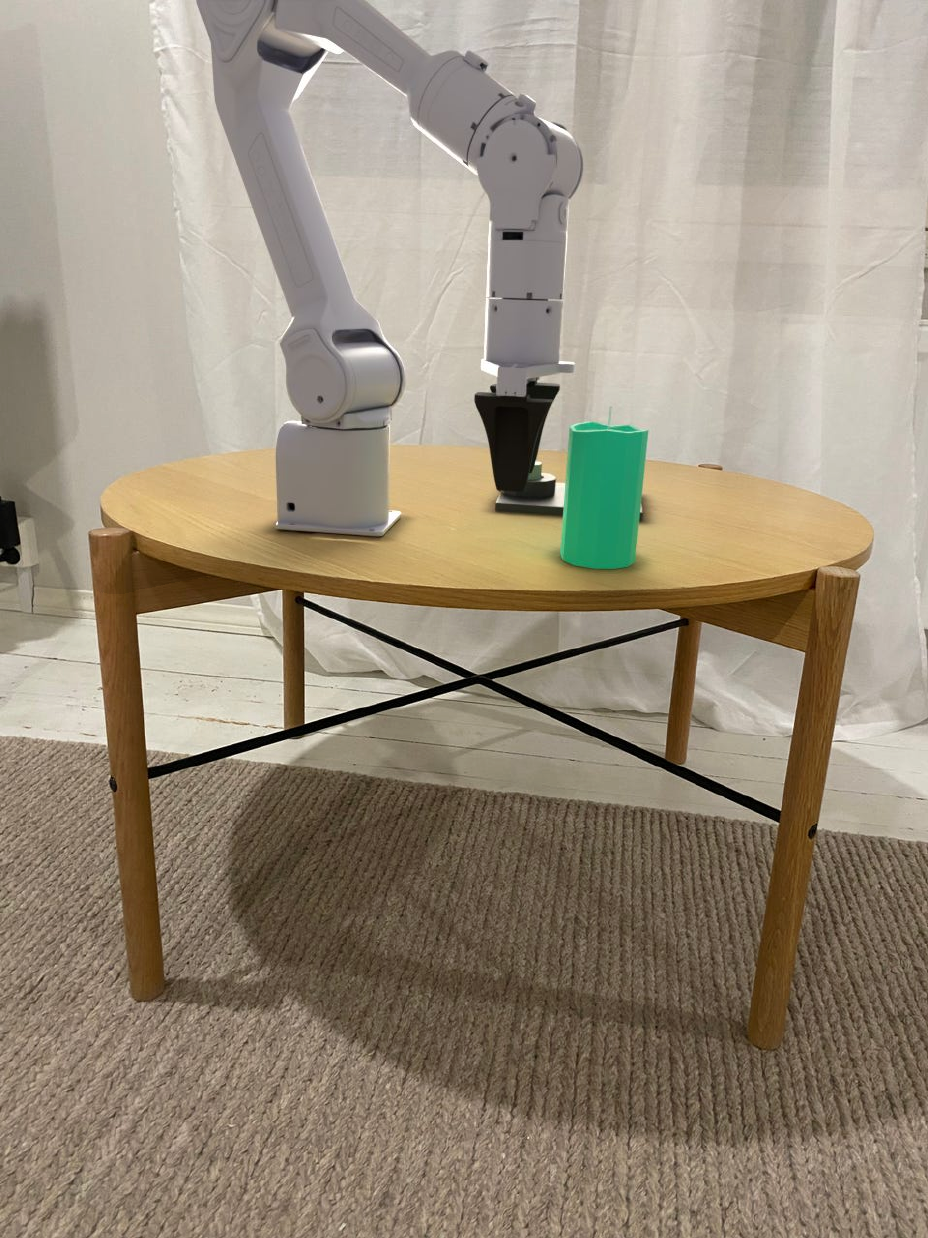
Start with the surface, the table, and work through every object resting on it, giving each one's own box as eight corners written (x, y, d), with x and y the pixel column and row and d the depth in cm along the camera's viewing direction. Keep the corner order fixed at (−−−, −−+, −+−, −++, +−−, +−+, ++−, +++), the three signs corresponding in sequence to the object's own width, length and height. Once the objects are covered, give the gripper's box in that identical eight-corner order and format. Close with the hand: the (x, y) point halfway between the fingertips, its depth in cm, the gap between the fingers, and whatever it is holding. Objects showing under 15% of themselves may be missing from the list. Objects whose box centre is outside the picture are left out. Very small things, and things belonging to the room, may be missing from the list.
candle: (633, 572, 71) (650, 413, 67) (556, 565, 72) (567, 408, 68) (635, 552, 76) (651, 404, 72) (563, 545, 77) (574, 400, 73)
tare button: (512, 481, 92) (513, 463, 91) (514, 476, 95) (515, 459, 94) (540, 483, 92) (541, 465, 91) (542, 478, 94) (543, 460, 94)
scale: (491, 511, 89) (492, 485, 88) (504, 487, 100) (505, 464, 99) (642, 521, 87) (644, 495, 86) (638, 495, 98) (641, 472, 97)
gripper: (574, 302, 61) (561, 503, 66) (581, 300, 75) (569, 467, 79) (470, 298, 62) (463, 496, 67) (495, 297, 76) (488, 462, 80)
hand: (515, 480), depth 73 cm, fingers open, 7 cm apart
